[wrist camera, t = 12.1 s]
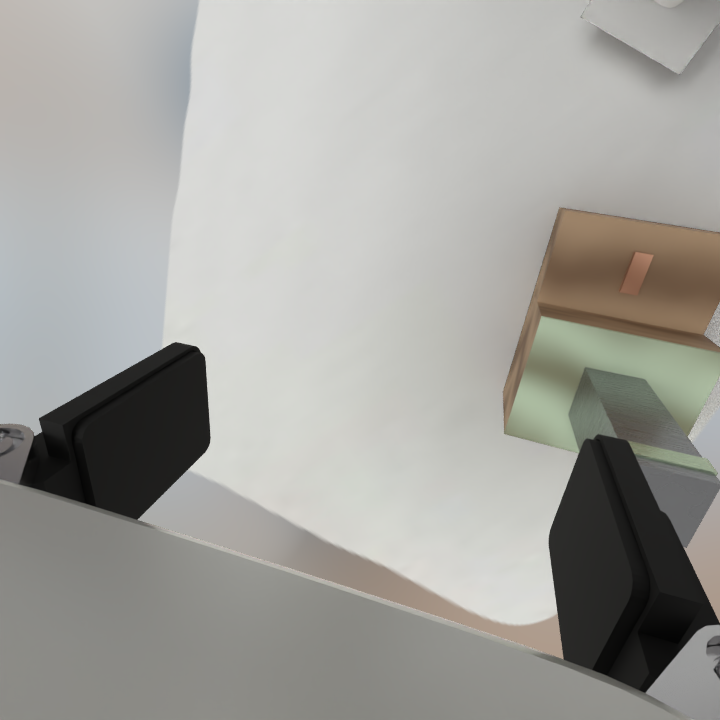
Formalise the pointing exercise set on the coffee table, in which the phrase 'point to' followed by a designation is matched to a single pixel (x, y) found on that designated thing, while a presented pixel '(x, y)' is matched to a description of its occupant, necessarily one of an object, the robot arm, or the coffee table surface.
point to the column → (647, 443)
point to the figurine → (657, 26)
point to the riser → (615, 320)
